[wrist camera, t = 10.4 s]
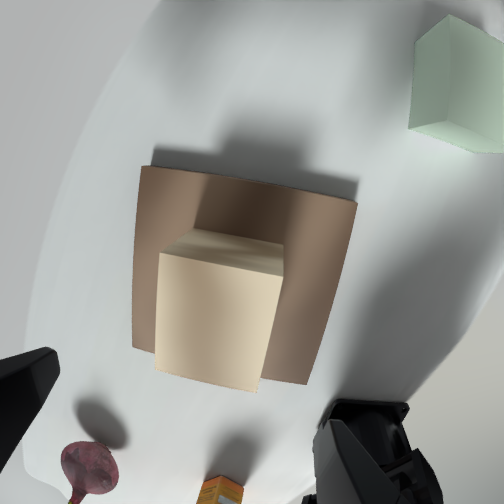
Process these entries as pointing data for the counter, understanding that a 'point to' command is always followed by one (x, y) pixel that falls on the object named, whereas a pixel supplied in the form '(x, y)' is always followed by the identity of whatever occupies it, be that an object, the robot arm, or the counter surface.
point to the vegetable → (89, 469)
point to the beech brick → (216, 307)
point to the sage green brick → (459, 87)
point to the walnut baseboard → (254, 227)
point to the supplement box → (220, 492)
